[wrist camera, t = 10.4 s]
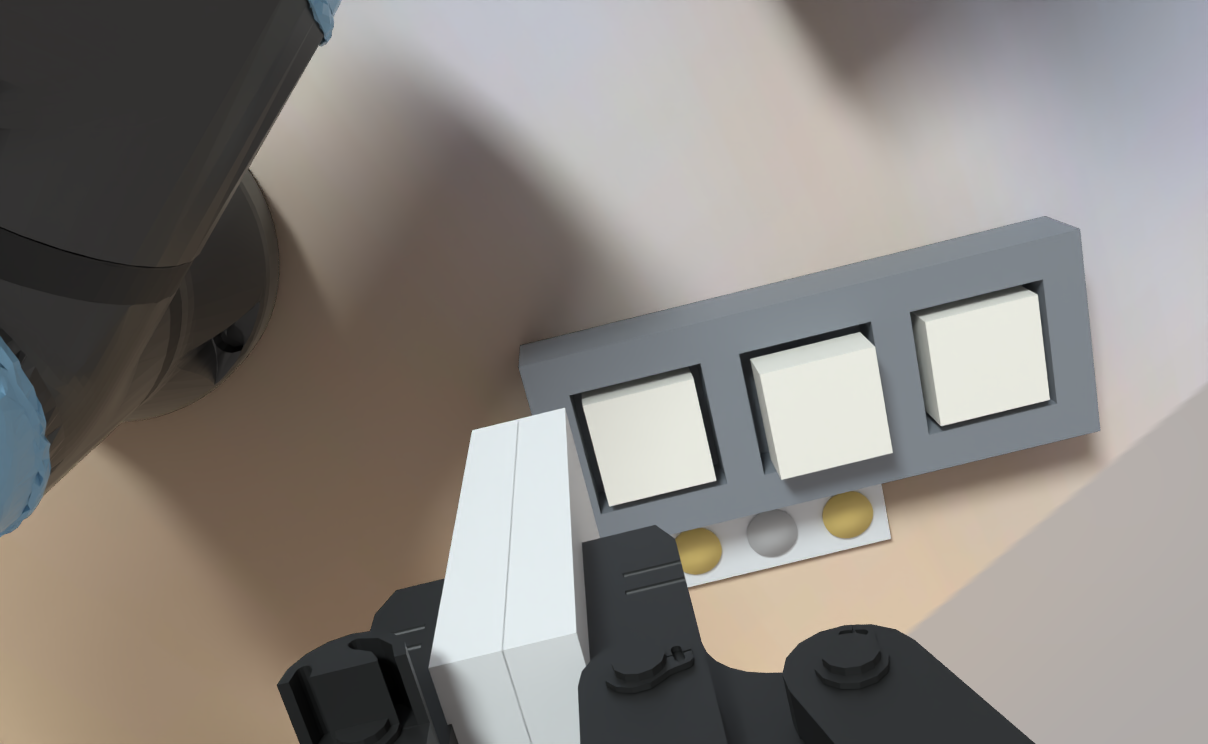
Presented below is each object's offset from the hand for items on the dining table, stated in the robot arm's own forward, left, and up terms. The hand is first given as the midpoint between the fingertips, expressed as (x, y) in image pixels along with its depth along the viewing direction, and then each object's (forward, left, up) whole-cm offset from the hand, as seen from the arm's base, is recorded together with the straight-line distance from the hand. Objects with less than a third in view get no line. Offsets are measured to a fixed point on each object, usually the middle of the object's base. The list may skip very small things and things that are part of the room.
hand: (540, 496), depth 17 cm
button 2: (+10, -12, -31) cm, 35 cm away
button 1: (+2, -12, -33) cm, 35 cm away
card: (+7, -20, -34) cm, 40 cm away
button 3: (+18, -12, -33) cm, 39 cm away
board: (+10, -12, -34) cm, 38 cm away
